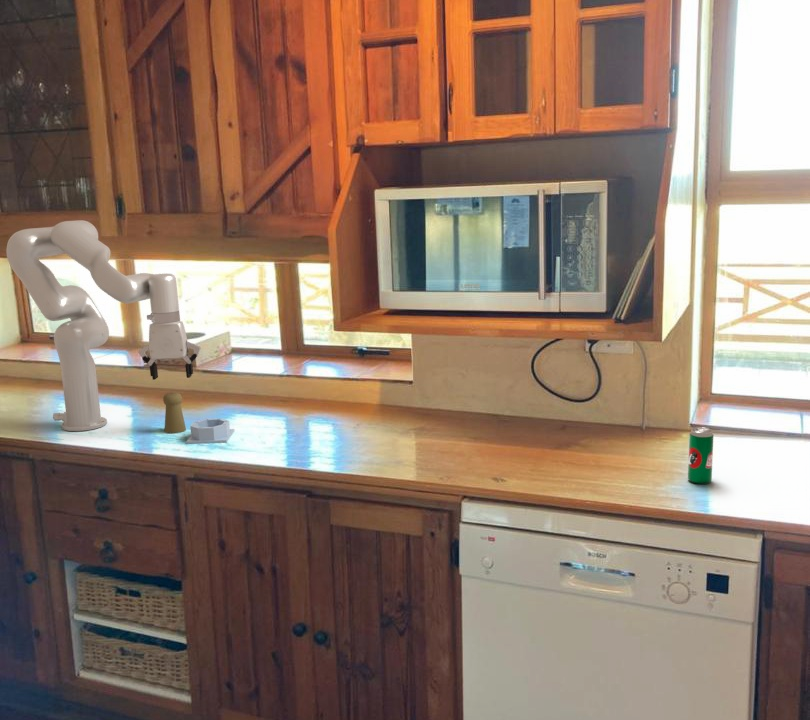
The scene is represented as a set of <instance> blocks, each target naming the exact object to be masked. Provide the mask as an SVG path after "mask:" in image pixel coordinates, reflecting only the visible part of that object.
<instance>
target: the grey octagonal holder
mask: <svg viewBox="0 0 810 720" xmlns="http://www.w3.org/2000/svg"><path fill="white" fill-rule="evenodd" d="M234 432H235V428H230V420H228V419H224V418H204V419H201V420H196V421H193V422H192V424H190V437H188V438H187V440H186V441H185V442H186V444H188V445H189V444H213V443H214V444H215V443H216V444H217V443H221V444H222V443H228V442H229V440H230V438H231V437H232V436H233V434H234Z"/></svg>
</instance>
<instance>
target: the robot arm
mask: <svg viewBox="0 0 810 720" xmlns="http://www.w3.org/2000/svg"><path fill="white" fill-rule="evenodd" d="M110 249H111V248H109V246H108V245H106V244H105V243H103V242H102V241H100V240H99V231H98V230H97V227H95V226H94V224H92V223H91V222H90V221H87V220H83V219H82V220H81V219H79V220H77V219H75V220H65V221H60V222H58V223H57V224H55V225H54V226H47V227H37V228H36V227H35V228H34V227H33V228H24V229H20V230H18V231H16V232H14V233H13V234H12V235H11V236H10V238H9V239H8V241H7V245H6V258H7V261H8V264H9V266H10V268H11V270H12V271H13V272H14V274H15V275H16V276H17V278H18V279H19V280H20V281H21V282H22V284H23V285H24V287H25V289H26V291H27V293H28V294H29V295H30V297H31V299H32V300H33V301H34V304H35V305H36V306H37V308H38V310H39V311H40V313H41V314H42V316H43V317H44V318H45V319H46V320H48V321H51V322H58V321H63V320H67V321H65V322H63V323H61V324H60V325H58V327H57V328H56V329H55V331H54V335H53V341H54V346H55V349H56V353H57V356H58V360H59V365H60V373H61V374H60V375H61V379H62V380H61V382H62V390H63V398H64V405H65V407H64V408H65V411H64V412H62V413H61V412H53V414H52V418H53V420H54V421H62V423H61V429H62V430H63V431H69V432H82V431H90V430H91V431H92V430H95V429H99V428H102V427H104V426H106V425H107V424H108V420H107V418H106V417H103V416H101V415H102V414H101V407H100V395H99V386H98V376H97V369H96V363H95V360H94V358H93V355H92V354H91V352H90V350H92V349H95V348H98V347H99V348H100V347H101V346H103V345H104V344H105V343H106V342H107V341H108V340H109V336H110V329H109V326H108V324H107V322H106V320H105V318H104V316H103V314H102V313H101V312H100V311H99V309H98V306H97V305H96V304H95V302H94V301H93V299H92V298H91V296H90V294H88V292H87V291H86V290H84V289H83V288H82V287H80V286H78V285H74V284H73V285H71V284H70V285H64V286H63V285H61V284H60V282H59V281H58V279H57V278H56V276H55V274H54V273H53V272H52V270H51V269H50V268H49V267H48V266H46V265H45V264H44V263H43V262H42V261H41V260H39V258H40V259H41V258H47V257H54V256H55V257H56V256H60V255H66V256H68V257H70V258H71V259H72V260H73V261H75V262H76V263H78V264H79V265H80V266H82V267H83V268H85V269H86V270H88V271H89V274H90V276H91V279H93V282H94V284H96V286H97V287H98V288H99V289H100V290H101V291H103V292H104V293H106V295H108V296H110V297H111V298H112V299H114V300H116V301H117V302H120V303H124V304H133V303H136V302H141V301H146V300H149V301H150V311H151V312H150V314H147V315H146V320H148V321H151V323H150V324H149V327H148V344H147V345H146V346H144V347H142V348H140V349H139V350H138V351H137V352H138V354H139V356H140V357H141V358H142V360H143V362H145V363H146V364H147V365H148V366H149V371H150V372H149V373H150V374H149V376H150V377H152V380H156V379H158V378H159V375H158V374H159V372H158V364H156V361H157V360H159V361H160V360H176V359H177V360H178V359H183V360H184V361H185V363H186V364H184V365H185V376H186V378H188V379H190V378H191V377H192V375H193V374H194V368H193V362H194V361H195V360H196V359H197V357H198V356H199V353H200V352H201V347H200V346H199V345H197V344H194V343H192V342H189V341H188V336H187V333H186V328H185V325H184V322H183V321H181V315H180V313H181V312H180V306H179V305H180V304H179V296H178V284H177V277H176V275H174V274H173V273H155V274H153V273H147V272H142V273H136V274H135V273H133V274H128V275H125V274H123V273H122V272H120V271H119V270H117V269H116V268H115V267H113V266H112V264H111V263H110V262H109V261H110V257H111V253H112V252H111V250H110ZM68 319H70V320H68ZM189 349H190V350H193V354H191V355H189ZM147 351H148V352H149V356H148V355H147V353H146V352H147Z"/></svg>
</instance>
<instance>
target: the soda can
mask: <svg viewBox="0 0 810 720" xmlns="http://www.w3.org/2000/svg"><path fill="white" fill-rule="evenodd" d="M688 437H689V439H688V461H687V462H688V463H687V465H688V466H687V479H688V481H689V482H690V483H693V484H696V485H706V484H710V483H711V481H712V480H713V478H712V476H713V457H714V456H713V454H714V453H713V452H714V433H713V430H712V429H710V428H709V427H702V426H701V427H699V426H697V427H695V426H694V427H693V428H691V431H690V432H689V436H688Z"/></svg>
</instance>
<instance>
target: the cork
mask: <svg viewBox="0 0 810 720" xmlns="http://www.w3.org/2000/svg"><path fill="white" fill-rule="evenodd" d="M162 401H163V404H164V406H165V413H164V414H165V416H164V433H165V434H173V435H174V434H179V433H184V432H186V431H187V427H186V423H185V417H184V413H183V410H182V405H181V404H182V403H183V397H182V395H181V393H179V392H169V393H166V394H164V395H163V399H162Z"/></svg>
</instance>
